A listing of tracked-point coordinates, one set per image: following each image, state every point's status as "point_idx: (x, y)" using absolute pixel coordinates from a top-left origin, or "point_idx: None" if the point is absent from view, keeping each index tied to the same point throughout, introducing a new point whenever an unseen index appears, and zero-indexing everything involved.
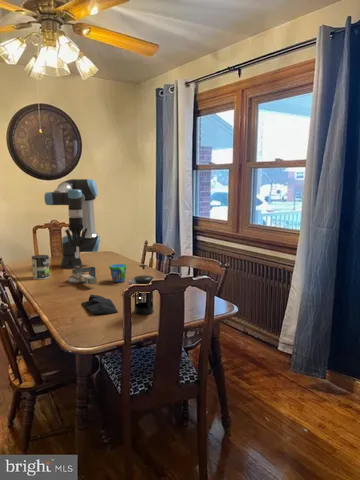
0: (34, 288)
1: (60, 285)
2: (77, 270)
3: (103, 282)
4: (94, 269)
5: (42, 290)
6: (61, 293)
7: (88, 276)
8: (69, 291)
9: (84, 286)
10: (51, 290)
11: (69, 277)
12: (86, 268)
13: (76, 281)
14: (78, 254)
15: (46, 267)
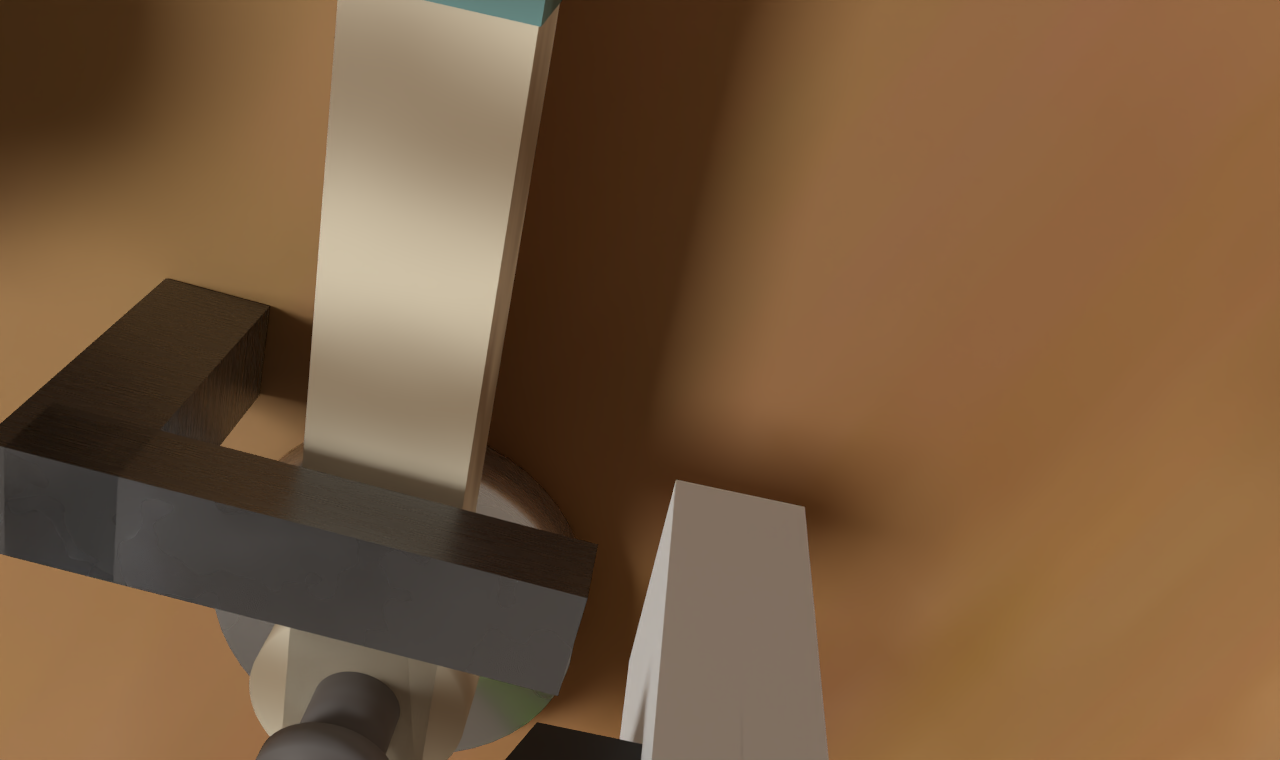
0: (1223, 735)
1: (816, 571)
2: (494, 567)
3: (49, 106)
4: (31, 422)
5: (1252, 552)
6: (1228, 102)
7: (408, 176)
8: (1012, 96)
9: (542, 169)
10: (1162, 435)
11: (515, 711)
12: (218, 537)
13: (514, 489)
14: (714, 607)
15: None
